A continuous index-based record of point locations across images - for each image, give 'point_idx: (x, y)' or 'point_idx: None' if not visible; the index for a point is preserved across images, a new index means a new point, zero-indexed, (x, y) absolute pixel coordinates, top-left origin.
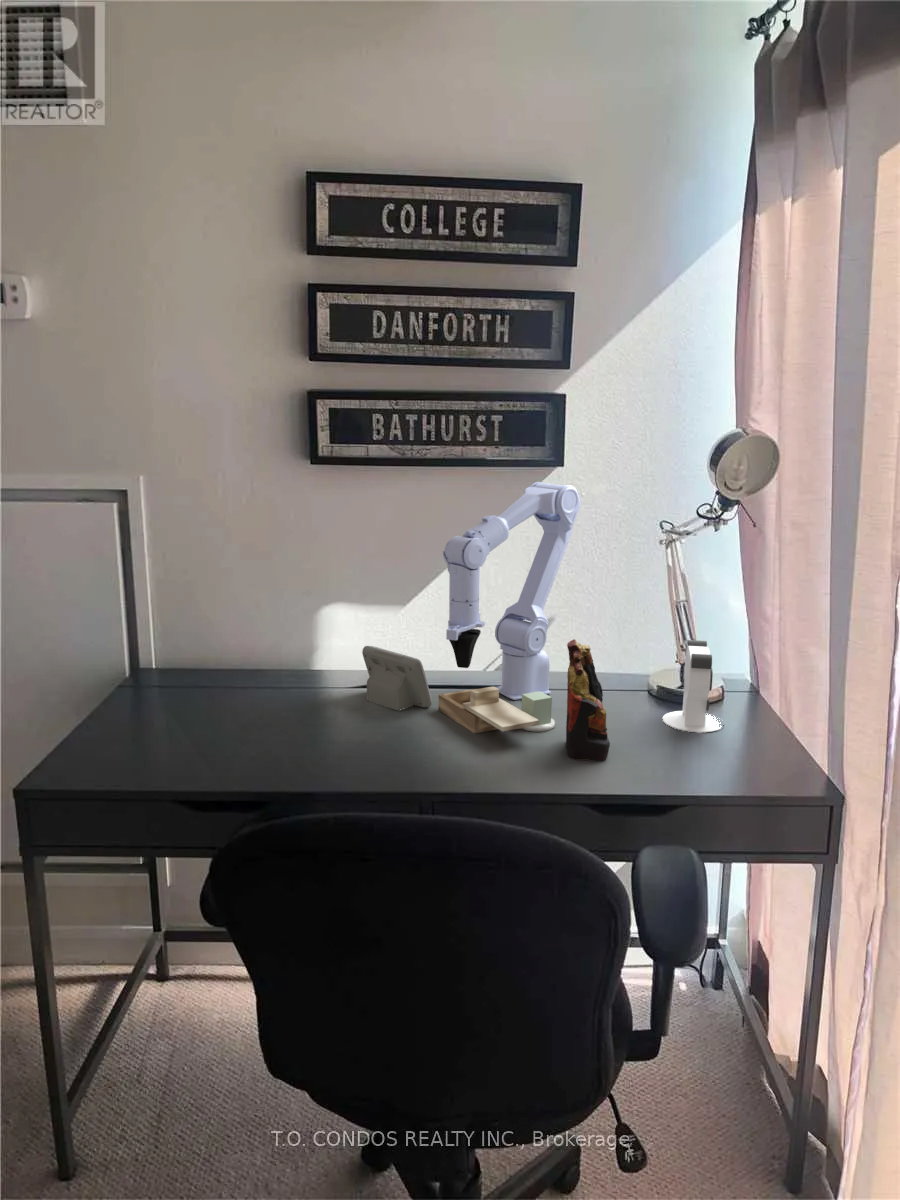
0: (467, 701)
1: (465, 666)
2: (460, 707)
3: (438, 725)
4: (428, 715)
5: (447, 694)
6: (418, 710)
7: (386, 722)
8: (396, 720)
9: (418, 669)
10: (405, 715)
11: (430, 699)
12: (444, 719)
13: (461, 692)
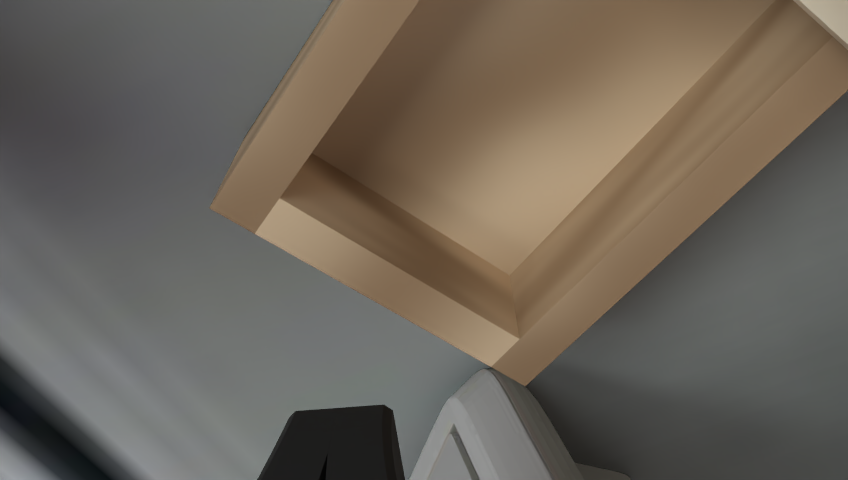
0: (336, 177)
1: (396, 441)
2: (823, 101)
3: (834, 178)
4: (640, 313)
5: (487, 336)
6: (567, 394)
7: (844, 450)
8: (794, 423)
9: None
10: (688, 417)
11: (511, 402)
12: None
13: (374, 263)
